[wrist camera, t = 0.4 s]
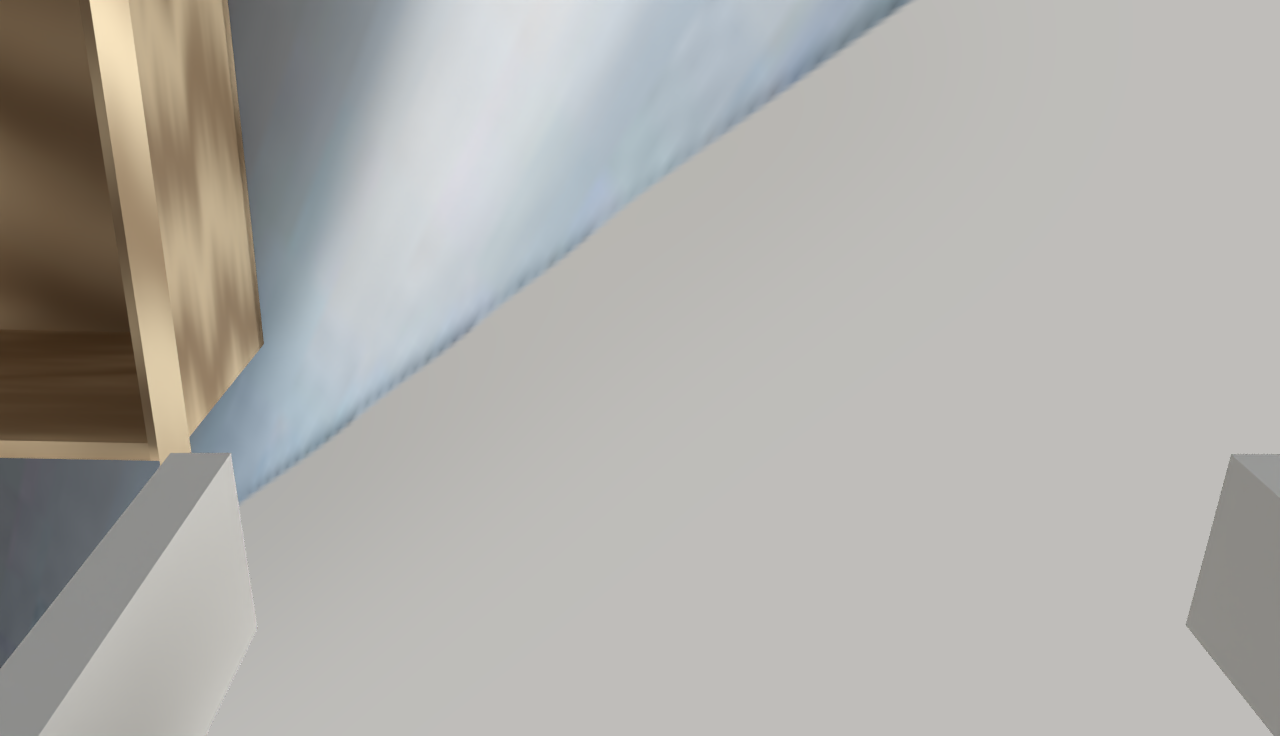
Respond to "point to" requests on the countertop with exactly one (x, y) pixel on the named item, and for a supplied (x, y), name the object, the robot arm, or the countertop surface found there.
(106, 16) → the flap
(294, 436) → the countertop surface
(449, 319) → the countertop surface
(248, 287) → the wooden box
